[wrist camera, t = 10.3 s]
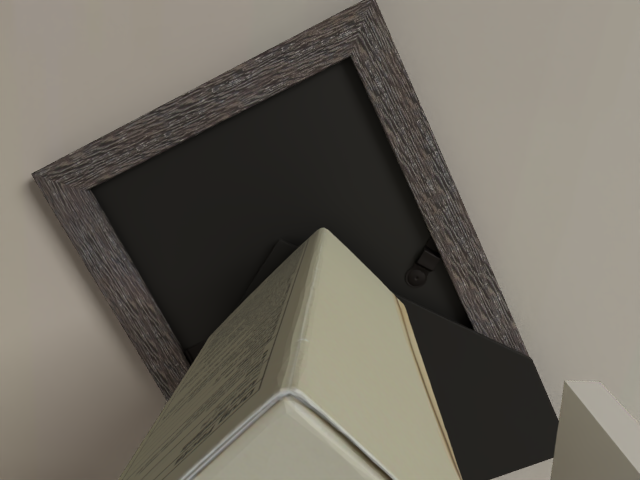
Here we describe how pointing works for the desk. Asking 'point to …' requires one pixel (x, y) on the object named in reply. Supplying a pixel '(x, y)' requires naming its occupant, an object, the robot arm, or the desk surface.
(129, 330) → the picture frame
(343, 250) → the skincare box
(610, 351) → the desk surface
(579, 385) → the robot arm
